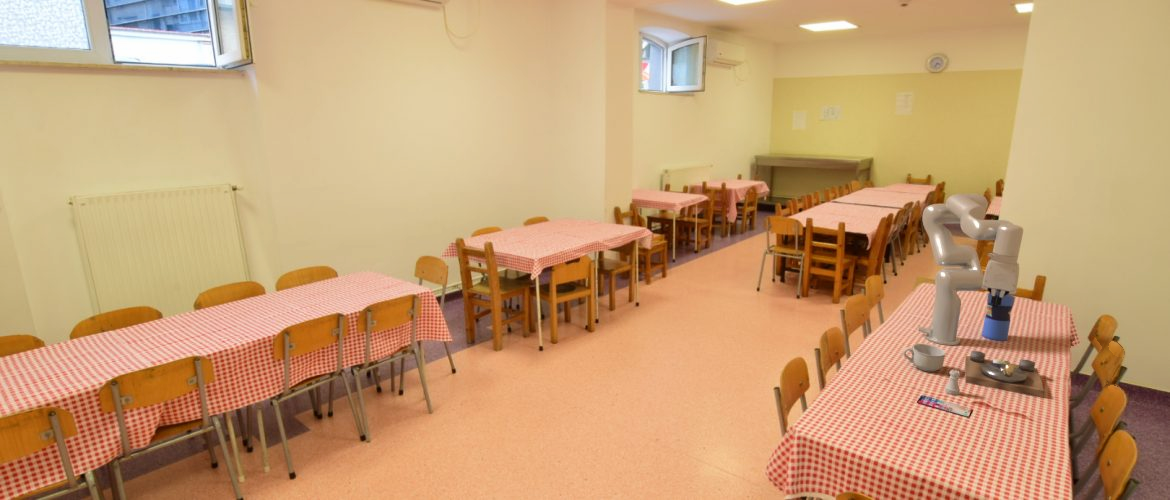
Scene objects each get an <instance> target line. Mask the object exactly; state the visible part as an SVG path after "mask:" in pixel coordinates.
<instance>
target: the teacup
mask: <svg viewBox="0 0 1170 500" xmlns="http://www.w3.org/2000/svg"><path fill="white" fill-rule="evenodd" d="M907 352H910V353H911V357H910V356H908V355H907ZM902 355H903V356H904V357H905V359H907V360H908V361H909V362H910V363H911V364H913V366H915V367H916V368H917V369H918V370H921V371H923V372H933V373H934V372H937V371H938V370H940V369H942V368H943V365H944V361H945V356H946V351H945V350H944V349H943V348H941V347H939V346H937V345H932V344H928V343H915V344H913V345H912V348H911V347H905V348H904V349H903V350H902Z"/></svg>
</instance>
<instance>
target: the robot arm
mask: <svg viewBox="0 0 1170 500" xmlns="http://www.w3.org/2000/svg"><path fill="white" fill-rule="evenodd" d="M988 206H989V202H988V200H987V198H986V196H984V195H982V194H980V193H956V194H952V195H950V196H949V197H947V199H946V201H945V203H934V204H930V205H928V206H926V207H924V209H923V213H922V219H921V220H922V224H923V228H924V230H925V232H926V234H927V236H928V239H929V242H930V246H931V251H932V255H933V258H934V262H935V264H936V265H938V266H939V267H944V268H942V269H939V270H938V271H937V272H936V273H935V277H934V282H935V283H934V284H935V286H934V287H935V296H934V304H933V310H932V311H933V312H932V319H931V325H930V326H929V327H928V326H927V327H923V326H918V329H917V330H918V332H921V333H922V334H925V338H926V339H927V340H928V341H930V342H932V343H935V344H939V345H944V346H945V345H947V346H956V345H959V344H960V343H961V339H960V338H959V337H957V336H958V329H959V322H960V314H961V307H962V299H961V298H960V296H959V295H958V292H977V291H980V290H982V289H983V290H985V291H988V293H990V294H991V295H992V299H991V304H993V306H992V307H997V308H998V305H1001V301H1002V297H1003V296H1005V295H1007V294H1010V295H1016V294H1017V292H1018V290H1017V287H1018V284H1019V276H1020V264H1019V263H1018V260H1019V254H1020V249H1021V246H1022V239H1023V234H1024V228H1023V227H1022V226H1020V225H1017V224H1013V223H1012V222H1011V221H1009V220H1007V219H1006V220H1003V219H985V217H986V211H987V209H988ZM944 224H956V225H957V224H960V228H961V231H962V232H963V233H964V234H965V235H966V236H968V237H969V238H971V239H973V240H976V241H994V246H993V250H992V252H991V253H990V252H988V253H987V257H988V258H990V259H989V260H988V261H987V263H986V264H987V265H986V267H985V270H984V273H983V271H982V265H981V262H980V258H979V255H978V253H977V250H976V249H975V248H974V247H973V246H971V245H969V244H968V245H967V244H956V243H955V241H954V237H953V233H951V231H950V230H949V229H948V228H947V227H946V226H945V225H944ZM996 289H998V290H1001V292H1000V294H999V295H998V296H997V293H996V291H997V290H996ZM996 299H997V301H996ZM995 304H996V306H995Z"/></svg>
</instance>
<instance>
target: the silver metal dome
mask: <svg viewBox="0 0 1170 500" xmlns="http://www.w3.org/2000/svg"><path fill="white" fill-rule="evenodd" d="M1012 364H1013V363H1010V364H999V363H985V364H983V365H982V369H981V372H982V374H984V375H985V376H987V377H989V378H991V379H994V380H997V381H1001V382H1006V383H1014V384H1019V383H1024V382H1025V381H1026V377H1027V374H1026V373H1025V372H1024V371H1022V370H1021V369H1018V368H1016V367H1014V365H1012Z"/></svg>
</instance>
